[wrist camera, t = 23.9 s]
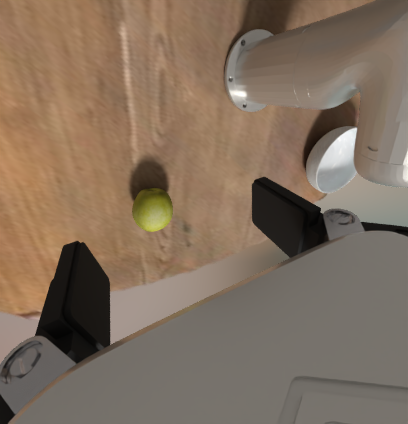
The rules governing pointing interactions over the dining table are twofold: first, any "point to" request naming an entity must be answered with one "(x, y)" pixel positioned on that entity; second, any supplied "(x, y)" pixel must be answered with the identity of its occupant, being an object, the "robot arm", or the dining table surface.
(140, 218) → the apple
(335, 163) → the cereal bowl
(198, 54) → the dining table surface
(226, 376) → the robot arm
